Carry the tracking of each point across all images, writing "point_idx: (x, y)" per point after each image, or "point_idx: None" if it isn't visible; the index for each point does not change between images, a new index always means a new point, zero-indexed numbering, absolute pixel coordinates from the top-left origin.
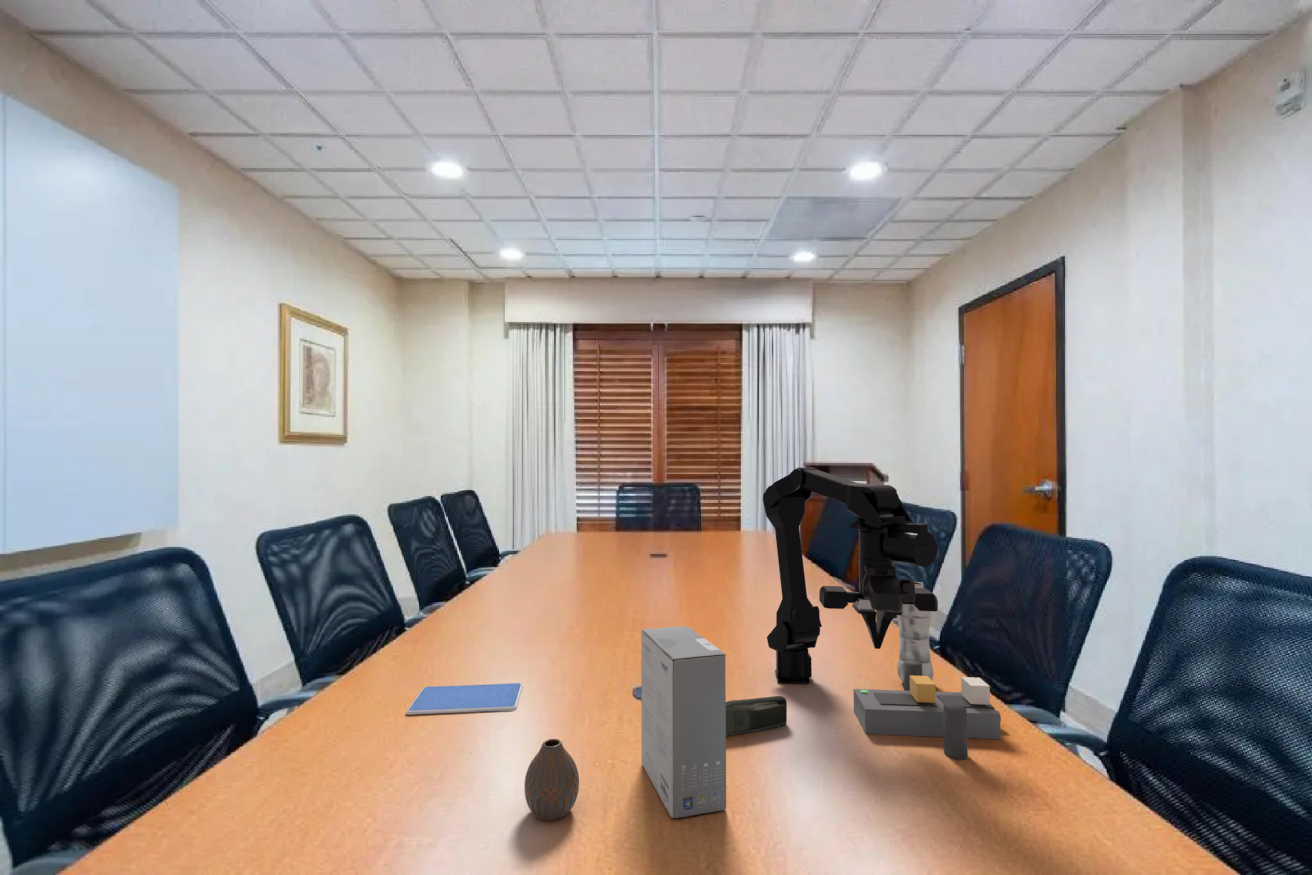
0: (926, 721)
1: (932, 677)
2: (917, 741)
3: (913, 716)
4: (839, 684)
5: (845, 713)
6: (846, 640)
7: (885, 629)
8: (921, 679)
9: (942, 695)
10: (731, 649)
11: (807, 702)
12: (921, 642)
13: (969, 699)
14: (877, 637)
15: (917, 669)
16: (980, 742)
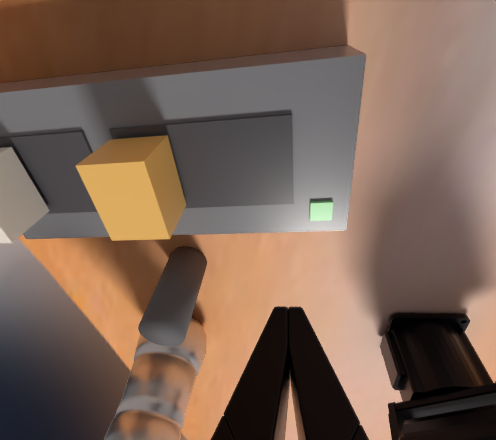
0: (154, 71)
1: None
2: (197, 18)
3: (190, 69)
4: (326, 315)
5: (361, 182)
6: None
7: (229, 432)
8: (128, 207)
9: None
10: None
11: (440, 231)
12: (132, 404)
13: (10, 160)
14: (295, 366)
15: (153, 309)
16: (34, 52)
